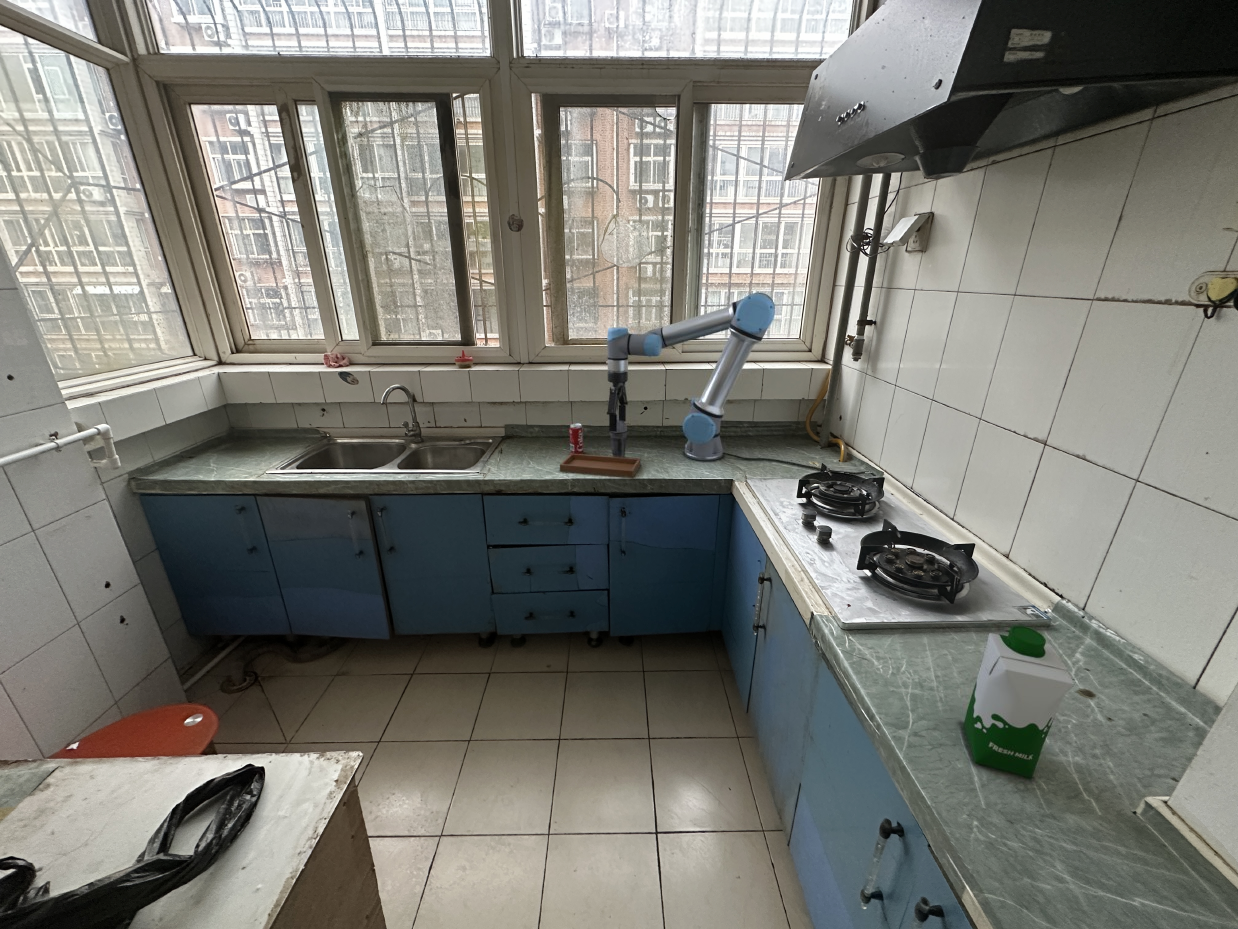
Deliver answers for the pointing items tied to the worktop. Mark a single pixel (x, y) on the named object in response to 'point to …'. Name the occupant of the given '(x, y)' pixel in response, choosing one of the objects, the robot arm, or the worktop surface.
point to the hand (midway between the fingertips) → (617, 426)
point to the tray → (600, 465)
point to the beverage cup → (619, 438)
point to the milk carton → (1015, 700)
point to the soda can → (576, 439)
